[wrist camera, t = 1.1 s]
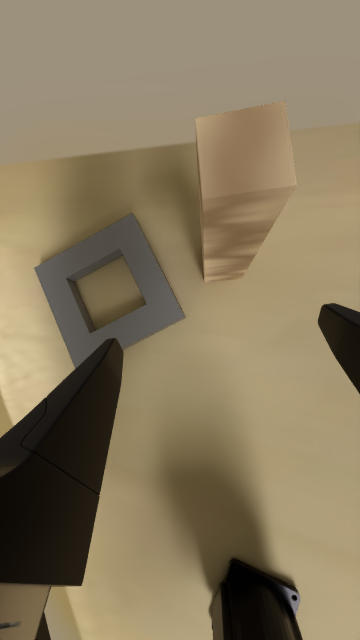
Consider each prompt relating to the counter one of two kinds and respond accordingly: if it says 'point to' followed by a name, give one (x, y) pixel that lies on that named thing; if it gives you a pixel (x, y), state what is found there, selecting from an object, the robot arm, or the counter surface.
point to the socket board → (88, 258)
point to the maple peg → (241, 184)
